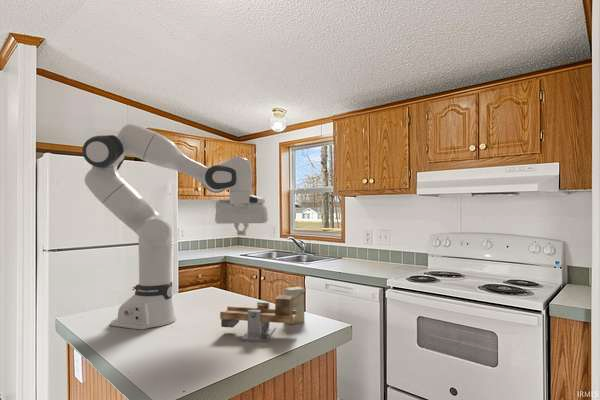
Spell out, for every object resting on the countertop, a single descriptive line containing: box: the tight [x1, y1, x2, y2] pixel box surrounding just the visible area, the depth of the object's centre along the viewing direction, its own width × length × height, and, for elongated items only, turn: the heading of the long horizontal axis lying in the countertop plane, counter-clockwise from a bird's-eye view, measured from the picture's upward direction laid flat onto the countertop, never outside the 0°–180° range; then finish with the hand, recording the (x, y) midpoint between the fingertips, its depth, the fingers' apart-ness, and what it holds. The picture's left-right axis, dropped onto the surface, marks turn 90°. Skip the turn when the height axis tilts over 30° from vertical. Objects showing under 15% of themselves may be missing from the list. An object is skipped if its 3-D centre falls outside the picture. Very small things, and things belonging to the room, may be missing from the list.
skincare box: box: [284, 286, 305, 325], centre depth 135 cm, size 6×4×12 cm
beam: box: [219, 305, 297, 328], centre depth 121 cm, size 24×8×6 cm, turn 80°
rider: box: [274, 294, 293, 316], centre depth 120 cm, size 5×5×6 cm
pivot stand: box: [240, 301, 277, 343], centre depth 121 cm, size 8×13×9 cm, turn 170°
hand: (241, 235), depth 142 cm, fingers closed
